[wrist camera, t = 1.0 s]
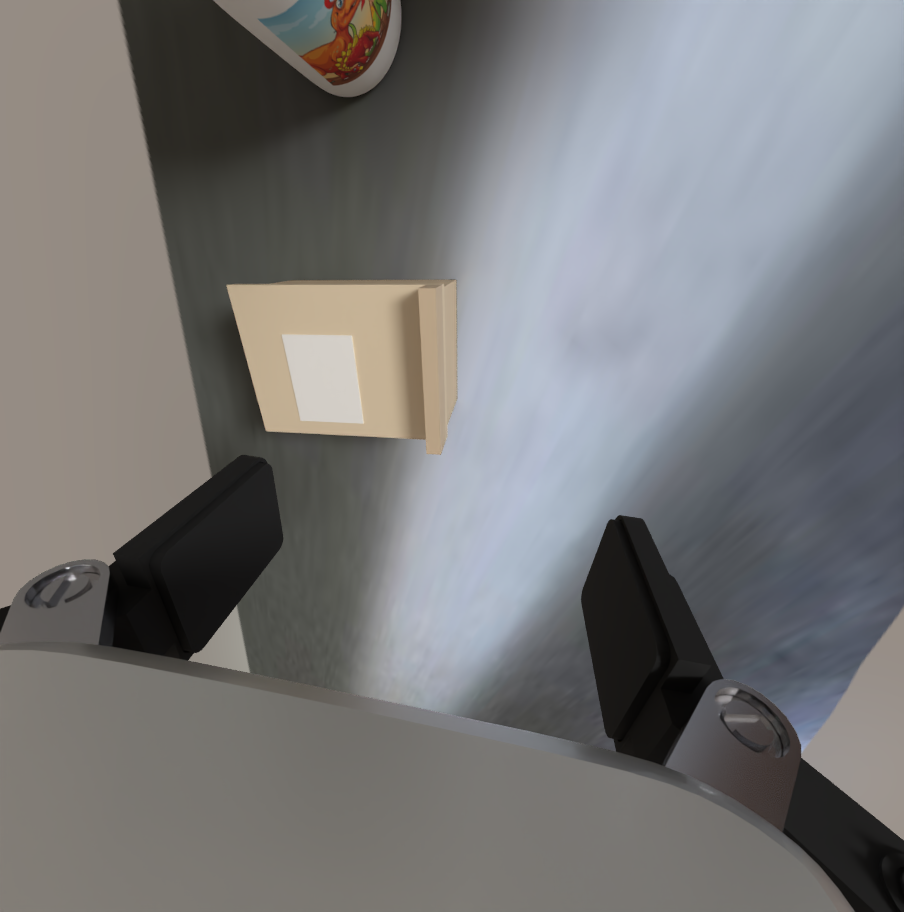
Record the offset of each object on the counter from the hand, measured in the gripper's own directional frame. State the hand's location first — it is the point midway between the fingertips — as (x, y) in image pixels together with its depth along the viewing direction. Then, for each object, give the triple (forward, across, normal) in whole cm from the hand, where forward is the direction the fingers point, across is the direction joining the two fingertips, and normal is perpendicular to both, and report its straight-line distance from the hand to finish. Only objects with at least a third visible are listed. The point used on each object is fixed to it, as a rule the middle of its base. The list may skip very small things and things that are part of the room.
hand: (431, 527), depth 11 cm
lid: (+18, +10, +2) cm, 20 cm away
